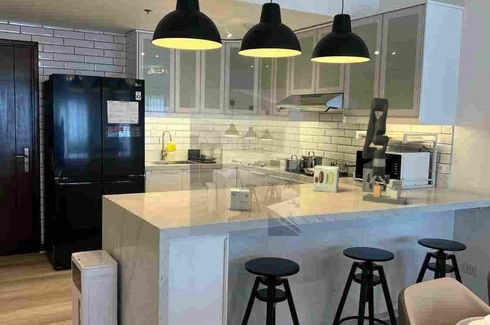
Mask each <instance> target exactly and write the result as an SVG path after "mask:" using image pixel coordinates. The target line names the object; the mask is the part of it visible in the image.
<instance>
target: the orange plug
mask: <svg viewBox="0 0 490 325" xmlns="http://www.w3.org/2000/svg"><path fill="white" fill-rule="evenodd" d="M382 190H383V186H382V185H380V182H375V186H374V192H373V194H374V195H373V196H374V197H381V195H382Z"/></svg>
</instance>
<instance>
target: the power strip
mask: <svg viewBox="0 0 490 325" xmlns="http://www.w3.org/2000/svg"><path fill="white" fill-rule="evenodd" d="M396 189H397V187H393V190H391V196H386V195H382V194H381V197H374V196H373V195H374V193H372V194H371V193H367V194H365V195H362V201H365V202H374V203H380V204H381V203H382V204H392V205H400V206H405V205H406V204H407V203H408V198H407V197H398V192H399V190H396Z"/></svg>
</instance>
